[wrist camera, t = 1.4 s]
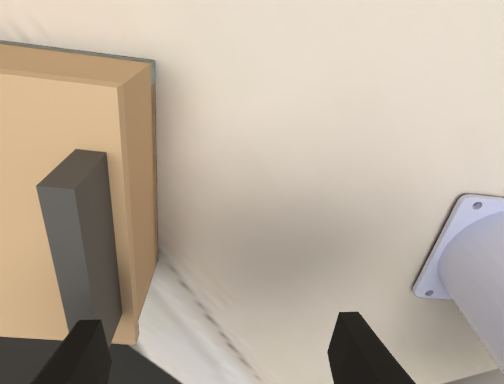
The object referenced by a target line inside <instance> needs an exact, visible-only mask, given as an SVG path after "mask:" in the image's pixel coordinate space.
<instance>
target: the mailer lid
mask: <svg viewBox="0 0 504 384" xmlns="http://www.w3.org/2000/svg"><path fill="white" fill-rule="evenodd" d="M99 319H101V321H102V325H103V329H104V333H105V337H106V341H107V344H108V348H109V347H110V344H111V343H116V344H132V345H136V343H137V339H138V336H139V324H138V309H137V293H136V277H135V262H134V246H133V231H132V215H131V200H130V184H129V168H128V153H127V137H126V122H125V106H124V91H123V83H118V82H110V81H101V80H93V79H85V78H77V77H68V76H60V75H52V74H44V73H36V72H27V71H19V70H11V69H3V68H0V336H2V337H19V338H35V339H51V340H64V339H65V338H66V336H67V335H68V333H69V332H70V331H71V329H72V328H73V326H74V325H75V324H76V322H78V321H79V320H99Z"/></svg>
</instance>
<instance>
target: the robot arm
mask: <svg viewBox="0 0 504 384" xmlns="http://www.w3.org/2000/svg"><path fill="white" fill-rule="evenodd" d="M476 202H478V203H477V204H476V205H474V204H475V203H476ZM473 205H474V206H473ZM413 293H414V295H415V296H416V297H421V298H434V299H447V300H453V301H454V302H455V304H456V305H457V307H458V308H459V310H460V311H461V313H462V314H463V316H464V317H465V319H466V320H467V322H468V323H469V325H470V326H471V328H472V329H473V330H474V332H475V333H476V335H477V336H478V338H479V339H480V341H481V342H482V344H483V345H484V347H485V348H486V350H487V351H488V353H489V354H490V356H491V357H492V359H493V360H494V362H495V363H496V364H497V366H498V367H499V369H500V370H501V372H502V373H503V375H504V198H502V197H493V196H483V195H473V194H466V195H463V196H462V197H460V198H459V199H458V201H457V203H456V205H455V207H454V209H453V211H452V212H451V214H450V216H449V218H448V220H447V222H446V224H445V226H444V228H443V230H442V232H441V234H440V236H439V238H438V240H437V242H436V244H435V246H434V248H433V250H432V252H431V254H430V256H429V258H428V260H427V262H426V264H425V265H424V267H423V269H422V271H421V273H420V275H419V277H418V279H417V281H416V283H415V285H414V287H413ZM328 357H329V362H330V367H331V372H332V377H333V381H334V384H416V383H415V382H414V381H413V380H412V379H411V377H410V376H409V375H408V374H407V373H406V372H405V370H404V369H403V368H402V367H401V366H400V364H399V363H398V362H397V361H396V359H395V358H394V357H393V356H392V354H391V353H390V352H389V351H388V349H387V348H386V347H385V346H384V344H383V343H382V342H381V341H380V339H379V338H378V337H377V335H376V334H375V333H374V332H373V330H372V329H371V328H370V326H369V325H368V324H367V322H366V321H365V320H364V318H363V317H362V316H361V315H360V313H359V312H339V315H338V318H337V322H336V325H335V328H334V332H333V335H332V338H331V342H330V345H329V349H328ZM111 362H112V360H111V356H110V352H109V348H108V344H107V341H106V337H105V333H104V329H103V325H102V321H101V319H99V320H79V321H78V322H76V324H75V325H74V326H73V328H72V329H71V331H70V332H69V333H68V335H67V336H66V338H65V339H64V340H63V342H62V343H61V344H60V346H59V347H58V349H57V350H56V351H55V352H54V354H53V355H52V356H51V358H50V359H49V360H48V362H47V363H46V364H45V366H44V367H43V368H42V370H41V371H40V372H39V374H38V375H37V376H36V377H35V378H34V380H33V381H32V382H31V383H30V384H107V383H108V378H109V372H110V368H111Z"/></svg>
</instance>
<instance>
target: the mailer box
mask: <svg viewBox="0 0 504 384" xmlns="http://www.w3.org/2000/svg"><path fill="white" fill-rule="evenodd" d="M0 68H3V69H11V70H19V71H27V72H36V73H44V74H52V75H60V76H68V77H77V78H85V79H93V80H101V81H110V82H118V83H123V91H124V106H125V122H126V137H127V153H128V168H129V184H130V200H131V215H132V231H133V246H134V262H135V277H136V293H137V309H138V320H139V317H140V314H141V311H142V308H143V305H144V301H145V298H146V295H147V292H148V289H149V286H150V283H151V280H152V277H153V274H154V271H155V267H156V264H157V261H158V220H157V163H156V106H155V60H149V59H142V58H134V57H126V56H118V55H110V54H103V53H95V52H87V51H79V50H71V49H63V48H56V47H48V46H40V45H32V44H24V43H16V42H9V41H1V40H0Z"/></svg>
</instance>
